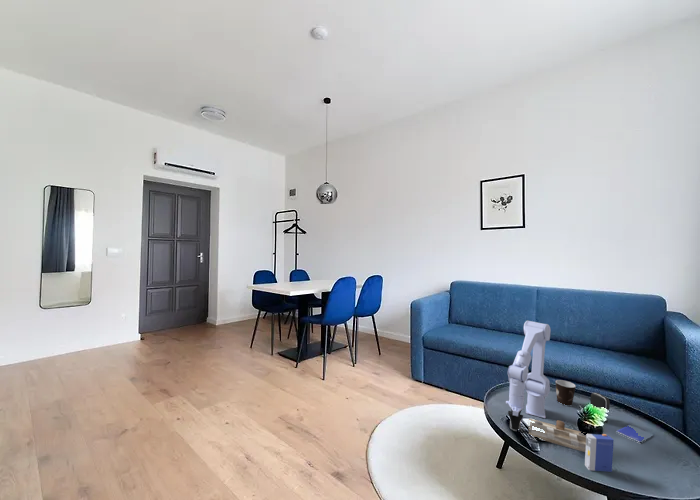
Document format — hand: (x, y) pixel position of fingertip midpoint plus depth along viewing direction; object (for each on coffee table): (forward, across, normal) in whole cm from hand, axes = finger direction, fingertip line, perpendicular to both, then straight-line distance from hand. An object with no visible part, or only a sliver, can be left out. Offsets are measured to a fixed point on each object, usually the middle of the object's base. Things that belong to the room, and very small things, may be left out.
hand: (515, 424), depth 139 cm
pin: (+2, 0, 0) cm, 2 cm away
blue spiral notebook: (+2, -24, +45) cm, 51 cm away
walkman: (+2, +12, +27) cm, 30 cm away
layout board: (+2, -4, +17) cm, 18 cm away
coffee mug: (+2, -39, +21) cm, 44 cm away
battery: (+2, -31, +34) cm, 46 cm away
